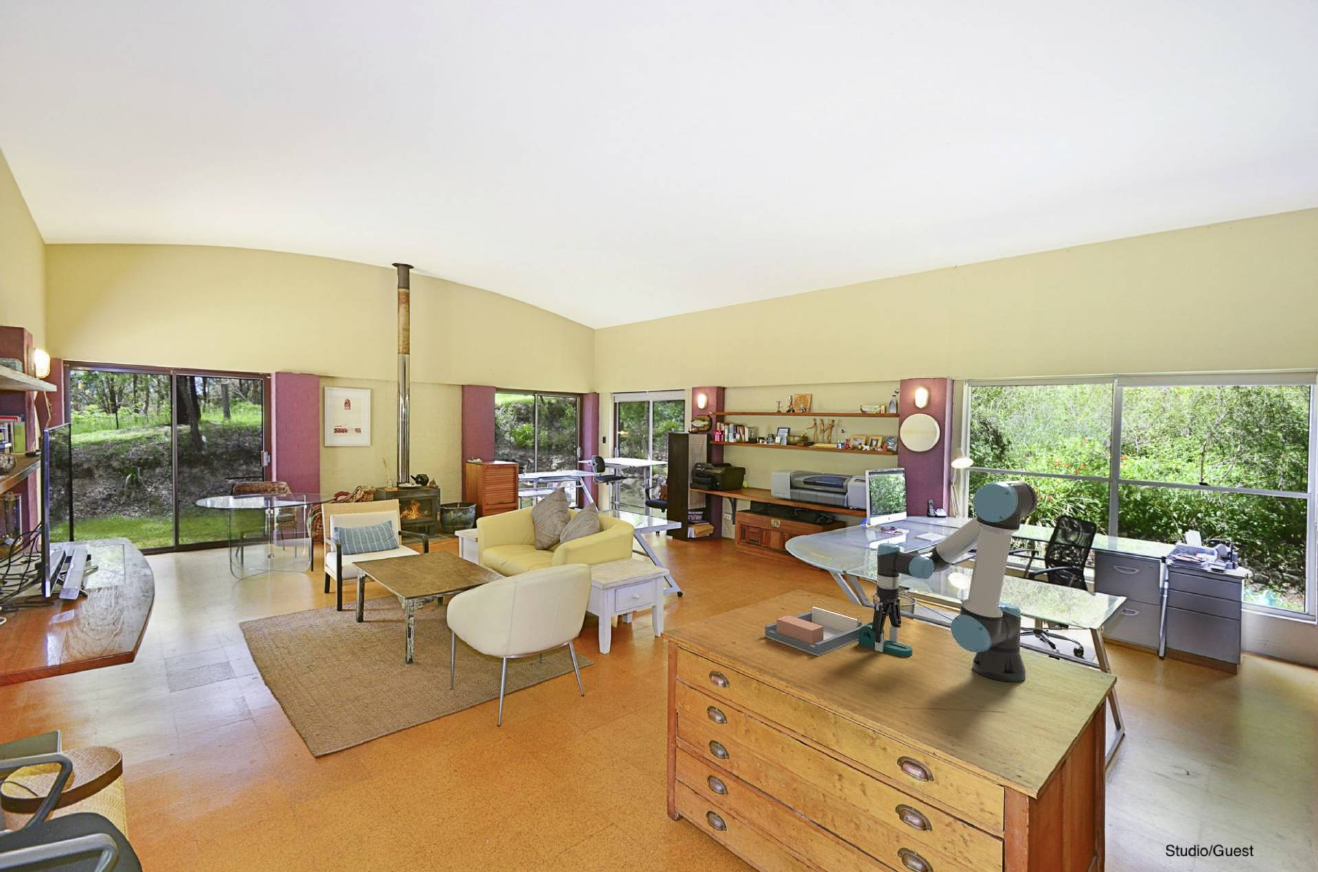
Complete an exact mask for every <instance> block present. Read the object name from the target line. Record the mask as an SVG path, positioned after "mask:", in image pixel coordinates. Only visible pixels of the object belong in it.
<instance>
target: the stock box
mask: <svg viewBox="0 0 1318 872" xmlns="http://www.w3.org/2000/svg"><path fill="white" fill-rule="evenodd" d="M776 622H777V628H776V632H777V633H780V634H783V635H786V636H789V637H791V638H794V639H797V640H800V641H803V642H805V643H808V644H811V645H814V646H815V643H817V642H820V641H823V638H824V626H821V625H818V624H815V623H811V622H808V621H805V620H802V619H799V618H796V617H795V616H793V615H789V614H787V615H785V616H781V617H778V618H776Z"/></svg>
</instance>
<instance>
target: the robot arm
mask: <svg viewBox="0 0 1318 872" xmlns="http://www.w3.org/2000/svg"><path fill="white" fill-rule="evenodd" d="M1038 503H1039V502H1038V495H1037V492H1036V491H1035V489H1034V488H1033V487H1032V485H1030V484H1029V483H1027V482H1025V481H1022V480H1005V481H1004V480H1003V481H998V480H997V481H993V482H989V483H986V484H984V485H982V486H981V487H979V488H978V489H977V490H976V492H975V493H974V495H973V499H972V506H973V509H974V511H975V513H976V516H974V517H973V518H971V520H969V521H967V522H966V523H965V524H963V525H962V526H961V527H959V528H958V529H957V530H956V531H954V532H953V533H952V534H950V535H948V536H947V537H946V538H944V539H943V540H942V541H941V542H939V543H938V544H936V545H935V546H934V547H933V548H931V549H930V550H928V551H924V552H918V553H912V554H911V553H907V552H902V551H901V547H900V545H898V544H897V543H891V542H883V543H879V544H878V545H877V554H876V558H877V559H876V564H877V568H876V569H877V571H876V585H877V586H876V592H875V593H876V597H877V598H879V603H878V604H877V603H875V604H874V606H873V607H874V608H873V610H874V612H873V618H872V622H873V623H872V632H874V633H875V649H874V651H876V652H879V653H883V634H882V631H883V629H884V627H885V623H886V620H887V617H888V619H889V621H890V626H889V635H888V636H889V641H893V642H897V643H898V636H899V635H898V633H899V631H898V630H899V629H901V627H902V615H901V606H900V604H901V600H900V597H899V596H900V591H899V590H900V589H899V587H900V575H904V576H909V577H912V578H915V579H918V580H919V579H922V580H928V579H930V578H931V577H932V575H933V574H934V573H938V572H939V573H940V572H944V571H945V570H949V568H950V567H951V566H952V564H953V562H954V563H955V561H956V560H958V559H959V558H961V557H962V556H964V555H965V554H967V553H968V552H969V551H971V550H973V549H974V548H976V553H975V558H974V564H973V569H972V574H971V579H970V584H969V585H970V586H969V590H968V596H967V598H966V599H965V600H963V601H962V602H961V603H960V610H959V614H958V615H956V616H955V617H954V618H953V619H952V621H951V623H950V632H951V635H952V637H953V639H954V640H955V642H956V643H957V645H958V646H960V647H961V648H962V649H963V650H965V651H967V652H969V653H970V652H971V653H975V655H974V656H973V657H974V658H973V661H972V669H973V670H974V672H976V673H977V674H979V675H981V676H983V677H986V678H988V679H992V680H995V681H1001V682H1010V683H1011V682H1012V683H1015V682H1022V681H1024V680H1025V679H1026V675H1027V674H1026V673H1027V670H1026V667H1025V665H1024V661H1023V659H1022V655H1021V630H1022V629H1021V627H1022V626H1021V625H1022V615H1021V609H1020V608H1019V607H1018V606H1016V605H1015V604H1011V603H1007V602H1004V601H1000V599H1001V595H1002V590H1003V585H1004V579H1005V575H1006V574H1005V573H1006V570H1007V564H1008V558H1009V554H1010V547H1011V542H1012V538H1013V534H1014V533H1015V532H1019V530H1020V525H1021V523H1022V522H1021V521H1022V520H1023V519H1025V518H1026V517H1027V516H1029V515H1031V514H1032V513H1033V512H1034V511H1035V510H1036V508H1037V507H1038ZM976 546H977V547H976Z"/></svg>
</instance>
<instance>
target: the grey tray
mask: <svg viewBox="0 0 1318 872" xmlns="http://www.w3.org/2000/svg"><path fill="white" fill-rule="evenodd" d="M794 617H796V618H799V619H802V620H805V621H808V622H811V623H814V622H812V610H811V611H809V612H805V613H801V614H799V615H796V616H794ZM815 624H817V623H815ZM818 625H820V624H818ZM821 626H824V625H821ZM863 626H864V625H863V621H861V620H858V627H857V628H854V629H852V630H849V631H846V632H842V631H839V630H836V629H833V628H830V627H827V626H824V638H823V641H820V642H817V643H815V646H814V645H811V644H808V643H805V642H803V641H800V640H797V639H794V638H791V637H789V636H786V635H783V634H780V633H777V632H776V628H777V621H776V622H774V623H769V624H768V625H765V627H764V637H765V638H767V639H770V640H773V641H776V642H778V643H782V644H783V645H786V646H789V647H792V648H794V649H797V650H800V651H803V652H806V653H808V654H811V655H814V656H816V657H820V656H823V655H825V654H828V653H830V652H833V651H835V650H837V649H840V648H843V647H844V646H847V645H850V644H852V643H854V642H857V641H859V630H860V628H861V627H863Z"/></svg>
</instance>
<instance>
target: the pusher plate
mask: <svg viewBox="0 0 1318 872" xmlns="http://www.w3.org/2000/svg"><path fill="white" fill-rule="evenodd" d="M811 611H812V622H814V623H817V624H820V625H824V626H827V627H830V628H833V629H836V630H839V631H842V632H846V631H849V630H852V629H854V628H857V627H858V621H859V619H857V618H854V617H850V616H847V615H843V614H841V613H837V612H833V611H830V610H826V609H823V608H820V607H817V606H811Z"/></svg>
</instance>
